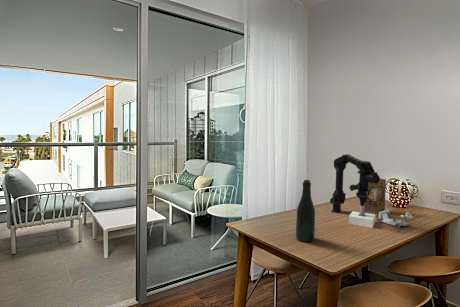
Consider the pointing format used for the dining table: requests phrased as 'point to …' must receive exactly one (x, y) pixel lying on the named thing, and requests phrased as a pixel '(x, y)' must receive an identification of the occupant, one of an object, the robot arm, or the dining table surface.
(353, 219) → the socket block
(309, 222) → the beer bottle
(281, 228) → the dining table surface
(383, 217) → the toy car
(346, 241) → the dining table surface
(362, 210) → the peg
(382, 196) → the book
